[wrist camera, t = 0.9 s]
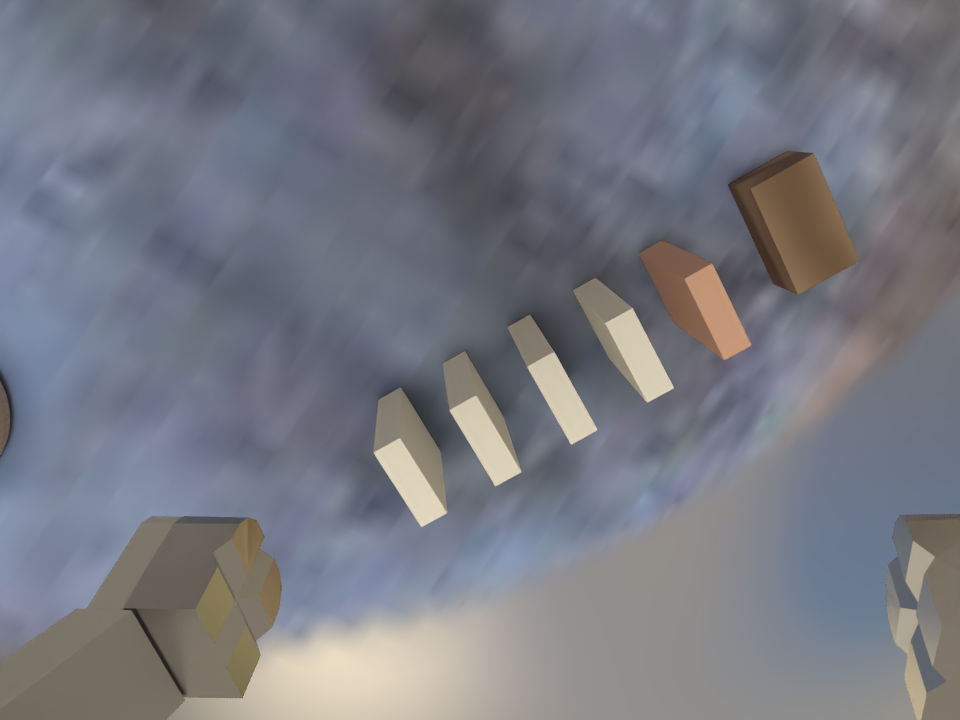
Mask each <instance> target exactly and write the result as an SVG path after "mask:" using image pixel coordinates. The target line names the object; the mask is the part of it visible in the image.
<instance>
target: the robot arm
mask: <svg viewBox="0 0 960 720" xmlns="http://www.w3.org/2000/svg"><path fill="white" fill-rule="evenodd" d="M264 538H265V536H264V534H263V532H262V530H261V528H260V526H259V524H258V522H257V520H255V519H251V518H237V517H195V516H184V517H168V516H152V517H150V518H149V519H147V520H145V521H144V522H142V523H141V525H140V526H139V528H138V529H137V531H136V532H135V534H134V535H133V537H132V539H131V540H130V542H129V543H128V545H127V546H126V548H125V549H124V551H123V553H122V554H121V556H120V557H119V559H118V560H117V562H116V564H115V565H114V567H113V568H112V570H111V571H110V573H109V574H108V576H107V578H106V579H105V581H104V582H103V584H102V585H101V587H100V588H99V590H98V592H97V593H96V595H95V596H94V598H93V599H92V601H91V602H90V604H89V606H88V607H87V609H76V610H74V611H73V612H71V613H70V614H69V615H67V616H66V617H64V618H63V619H61V620H60V621H58V622H57V623H56V624H54V625H53V626H51V627H50V628H48V629H47V630H46V631H44V632H43V633H41V634H40V635H38V636H37V637H35V638H34V639H33V640H31V641H30V642H28V643H27V644H25V645H24V646H23V647H21V648H20V649H18V650H17V651H15V652H14V653H12V654H11V655H10V656H8V657H7V658H5V659H4V660H2V661H1V662H0V720H166V719H167V718H168V717H169V716H170V715H171V714H172V713H173V712H174V711H175V710H176V709H177V708H178V707H179V706H180V705H181V704H182V703H183V702H184V701H185V699H184V697H199V698H243V696H244V693H245V691H246V689H247V686H248V684H249V682H250V679H251V677H252V674H253V672H254V670H255V667H256V665H257V663H258V660H259V658H260V652H259V649H258V646H257V643H256V640H257V639H259V638H260V637H261V636H262V635H263V634H265V633H266V632H267V631H268V630H269V629H270V628H272V626H273V624H274V621H275V619H276V616H277V613H278V611H279V607H280V599H281V591H282V585H281V578H280V571H279V569H278V567H277V564H276V562H275V559H274V558H272V557H271V556H270V555H268V554H267V553H266V552H264V551H263V550H262V549H260V546H261V544H262V542H263V540H264ZM892 539H893V542H894V545H895V549H896V552H897V555H898V556H897V557H896V558H895V559H894V560H893V561H891V562H890V563H889V564H888V569H887V578H886V603H887V611H888V617H889V623H890V627H891V631H892V635H893V638H894V642H895V644H896V645H897V646H898V647H900V648H901V649H902V650H903V651H904V652H905V653H906V654H907V655H908V658H907V664H906V669H905V675H904V678H905V682H906V685H907V689H908V692H909V695H910V699H911V702H912V706H913V709H914V713H915V716H916V720H960V514H919V515H899V516H898V518H897V520H896V522H895V525H894V531H893V536H892Z"/></svg>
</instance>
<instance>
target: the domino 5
mask: <svg viewBox="0 0 960 720" xmlns="http://www.w3.org/2000/svg"><path fill="white" fill-rule="evenodd" d="M639 255H640V257H641V259H642V261H643V263H644V265H645V267H646V269H647V271H648V273H649V275H650V277H651V279H652V281H653V283H654V285H655V287H656V289H657V291H658V293H659V295H660V297H661V299H662V301H663V303H664V305H665V307H666V309H667V311H668V313H669V314H670V316H671V318H672V320H673V322H674V323H675V324H676V325H678V326H679V327H681V328H682V329H683V330H685V331H686V332H687V333H689V334H690V335H691V336H693V337H694V338H695V339H697V340H698V341H699V342H701V343H702V344H703V345H705V346H706V347H707V348H709V349H710V350H711V351H713V352H714V353H715V354H717V355H718V356H719V357H721V358H722V359H723V360H726V359H728V358H729V357H731V356H733V355H735V354H737V353H739V352H740V351H742V350H744V349H746V348H748V347H749V346H751V343H750V341H749V339H748V337H747V335H746V333H745V331H744V329H743V327H742V324H741V322H740V320H739V318H738V316H737V314H736V312H735V310H734V308H733V306H732V304H731V301H730V299H729V297H728V295H727V293H726V291H725V289H724V287H723V285H722V283H721V281H720V278H719V276H718V274H717V272H716V270H715V268H714V266H713V264H712V263H710V262H708V261H706V260H704V259H702V258H700V257H697V256H695V255H693V254H691V253H689V252H686V251H684V250H682V249H680V248H678V247H676V246H673V245H671V244H669V243H667V242H665V241H663V240H661V241H659V242H658V243H656V244H654V245H652V246H651V247H649V248H647V249H645V250H643V251H642V252H640V253H639Z"/></svg>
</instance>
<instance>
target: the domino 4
mask: <svg viewBox="0 0 960 720" xmlns="http://www.w3.org/2000/svg"><path fill="white" fill-rule="evenodd" d="M573 292H574V294H575V296H576V298H577V300H578V301H579V303H580V305H581V307H582V309H583V311H584V313H585V315H586V316H587V318H588V320H589V322H590V324H591V326H592V328H593V330H594V331H595V333H596V335H597V337H598V339H599V341H600V343H601V345H602V346H603V348H604V350H605V352H606V354H607V356H608V358H609V359H610V360H611V361H612V362H613V364H614V365H615V366H616V367H617V368H618V369H619V371H620V372H621V373H622V374H623V375H624V376H625V378H626V379H627V380H628V381H629V382H630V383H631V385H632V386H633V387H634V388H635V389H636V390H637V392H638V393H639V394H640V395H641V396H642V397H643V399H644V400H645V401H646V402H647V403H648V402H650V401H651V400H653V399H655V398H657V397H659V396H661V395H662V394H664V393H666V392H668V391H670V390H671V389H673V388H674V387H673V385H672V383H671V381H670V380H669V378H668V376H667V374H666V372H665V370H664V368H663V366H662V364H661V362H660V360H659V358H658V356H657V354H656V352H655V350H654V348H653V347H652V345H651V343H650V341H649V339H648V337H647V335H646V333H645V331H644V329H643V327H642V325H641V323H640V321H639V319H638V317H637V316H636V314H635V312H634V310H633V308H632V307H631V306H630V305H628V304H627V303H626V302H625V301H624V300H622V299H621V298H620V297H619V296H617V295H616V294H615V293H614V292H613V291H611V290H610V289H609V288H608V287H606V286H605V285H604V284H603V283H602V282H600V281H599V280H598V279H597V278H594V279H592V280H590V281H588V282H587V283H585V284H583V285H581V286H580V287H578V288H576V289H574V290H573Z"/></svg>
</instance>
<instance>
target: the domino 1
mask: <svg viewBox="0 0 960 720" xmlns="http://www.w3.org/2000/svg"><path fill="white" fill-rule="evenodd" d="M373 453H374V454H375V456H376V458H377V459H378V461H379V462H380V464H381V465H382V467H383V468H384V470H385V471H386V473H387V475H388V476H389V478H390V479H391V481H392V482H393V484H394V485H395V487H396V488H397V490H398V492H399V493H400V495H401V496H402V498H403V499H404V501H405V502H406V504H407V505H408V507H409V509H410V510H411V512H412V513H413V515H414V516H415V518H416V519H417V521H418V522H419V524H420V526H421V527H423V526H425V525H426V524H428V523H430V522H432V521H434V520H435V519H437V518H439V517H441V516H443V515H445V514H446V513H447V505H446V496H445V487H444V477H443V468H442V459H441V451H440V450H439V448H438V446H437V445H436V443H435V442H434V440H433V438H432V437H431V435H430V433H429V432H428V430H427V429H426V427H425V425H424V424H423V422H422V421H421V419H420V417H419V416H418V414H417V413H416V411H415V409H414V408H413V406H412V404H411V403H410V401H409V400H408V398H407V396H406V395H405V393H404V392H403V390H402V388H401V387H400V388H398V389H397V390H395V391H393V392H391V393H389V394H388V395H386V396H384V397H382V398H381V399H379V400H378V411H377V421H376V431H375V442H374V452H373Z"/></svg>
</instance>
